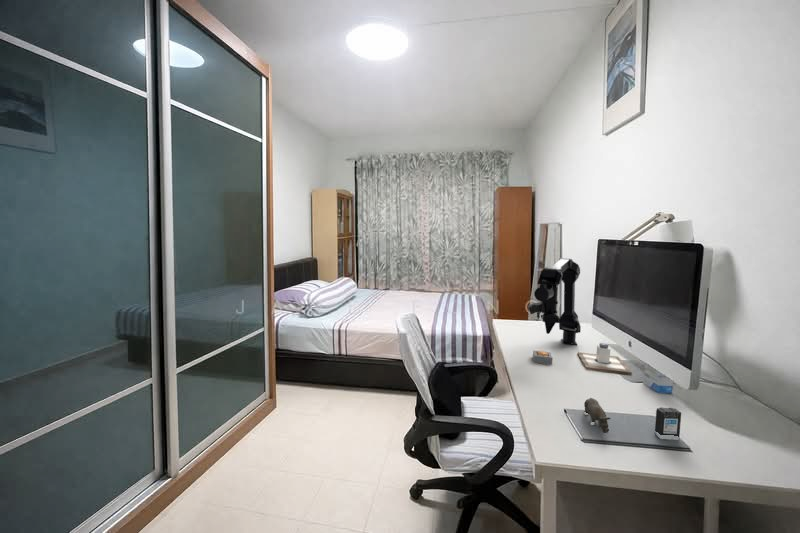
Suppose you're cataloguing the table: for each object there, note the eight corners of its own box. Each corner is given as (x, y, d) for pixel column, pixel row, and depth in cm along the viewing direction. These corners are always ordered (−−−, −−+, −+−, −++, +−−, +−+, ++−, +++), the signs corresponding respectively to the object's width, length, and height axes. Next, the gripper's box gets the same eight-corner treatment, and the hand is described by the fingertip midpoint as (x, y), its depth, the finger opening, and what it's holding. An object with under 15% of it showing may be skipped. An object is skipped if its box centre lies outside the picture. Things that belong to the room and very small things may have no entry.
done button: (536, 357, 151) (537, 350, 150) (546, 358, 149) (547, 351, 149) (537, 360, 147) (537, 353, 146) (547, 361, 146) (548, 355, 145)
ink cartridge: (660, 440, 93) (662, 411, 92) (654, 435, 95) (656, 407, 94) (679, 440, 92) (681, 412, 92) (673, 435, 95) (675, 407, 94)
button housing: (532, 356, 152) (533, 350, 152) (550, 358, 150) (550, 352, 150) (533, 362, 146) (534, 355, 146) (552, 364, 144) (552, 357, 143)
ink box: (673, 393, 120) (676, 360, 118) (658, 393, 120) (662, 360, 118) (655, 382, 128) (658, 351, 127) (642, 382, 128) (644, 351, 127)
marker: (596, 358, 148) (597, 342, 147) (606, 360, 147) (608, 343, 146) (598, 362, 144) (599, 345, 144) (609, 363, 143) (610, 346, 142)
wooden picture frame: (577, 354, 157) (577, 351, 157) (617, 358, 152) (618, 356, 152) (585, 369, 140) (586, 366, 139) (631, 374, 135) (631, 372, 135)
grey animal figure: (598, 439, 93) (600, 417, 92) (580, 412, 106) (582, 393, 106) (615, 440, 92) (617, 419, 91) (595, 414, 106) (596, 395, 105)
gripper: (528, 292, 158) (526, 325, 160) (530, 300, 140) (528, 338, 142) (555, 293, 155) (553, 328, 156) (560, 302, 137) (558, 341, 139)
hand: (547, 333), depth 149 cm, fingers closed
